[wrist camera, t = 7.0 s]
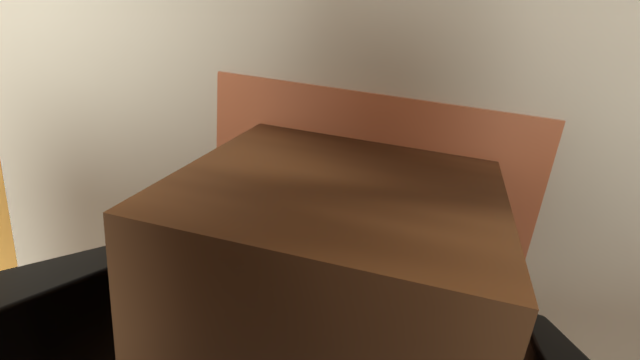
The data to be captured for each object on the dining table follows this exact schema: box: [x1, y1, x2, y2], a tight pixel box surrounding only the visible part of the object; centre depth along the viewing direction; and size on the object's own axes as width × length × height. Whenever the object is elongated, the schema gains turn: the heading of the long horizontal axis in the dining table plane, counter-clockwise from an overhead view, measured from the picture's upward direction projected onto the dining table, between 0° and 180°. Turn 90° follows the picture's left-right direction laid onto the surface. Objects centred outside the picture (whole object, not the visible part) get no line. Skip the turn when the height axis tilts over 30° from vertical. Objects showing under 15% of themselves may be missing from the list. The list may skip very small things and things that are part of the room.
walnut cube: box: [103, 124, 539, 360], centre depth 8 cm, size 5×5×5 cm
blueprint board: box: [0, 0, 640, 360], centre depth 11 cm, size 20×16×1 cm
